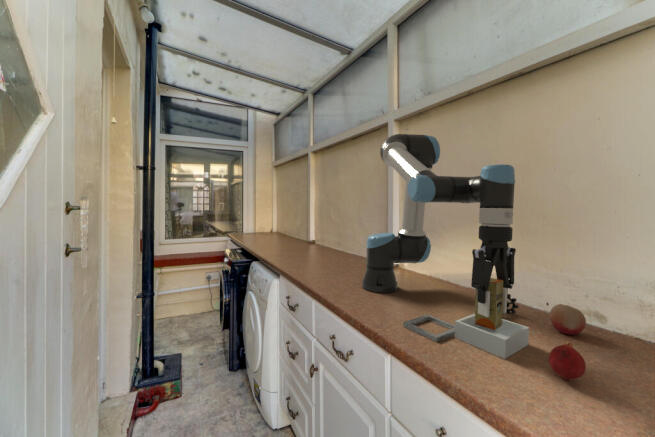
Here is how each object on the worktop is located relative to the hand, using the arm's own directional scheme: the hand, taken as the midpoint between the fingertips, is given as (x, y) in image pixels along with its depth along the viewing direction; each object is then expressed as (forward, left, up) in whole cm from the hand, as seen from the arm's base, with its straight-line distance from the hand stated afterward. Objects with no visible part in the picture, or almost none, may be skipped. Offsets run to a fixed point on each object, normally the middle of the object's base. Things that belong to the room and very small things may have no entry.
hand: (492, 313), depth 74 cm
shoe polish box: (-1, 0, -4) cm, 4 cm away
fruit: (+9, +24, -8) cm, 27 cm away
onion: (+17, -4, -8) cm, 19 cm away
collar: (-13, -7, -8) cm, 17 cm away
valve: (-8, +20, -8) cm, 23 cm away
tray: (0, 0, -8) cm, 8 cm away
